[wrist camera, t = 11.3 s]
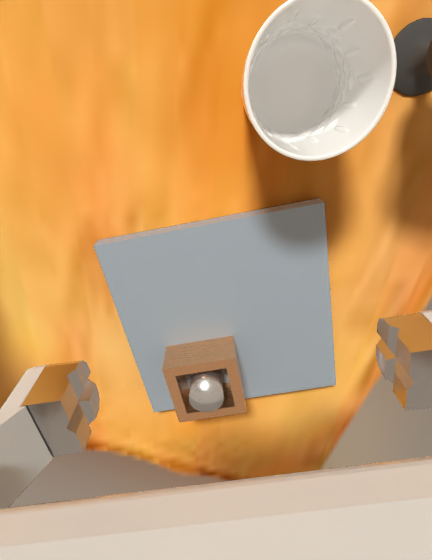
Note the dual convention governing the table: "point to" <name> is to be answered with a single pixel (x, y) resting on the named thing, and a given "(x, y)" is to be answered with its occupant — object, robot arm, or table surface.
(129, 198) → the table surface
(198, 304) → the plate
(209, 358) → the collar
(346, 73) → the white cup
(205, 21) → the table surface
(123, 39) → the table surface
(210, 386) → the piston
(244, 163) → the table surface
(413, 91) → the sundae
